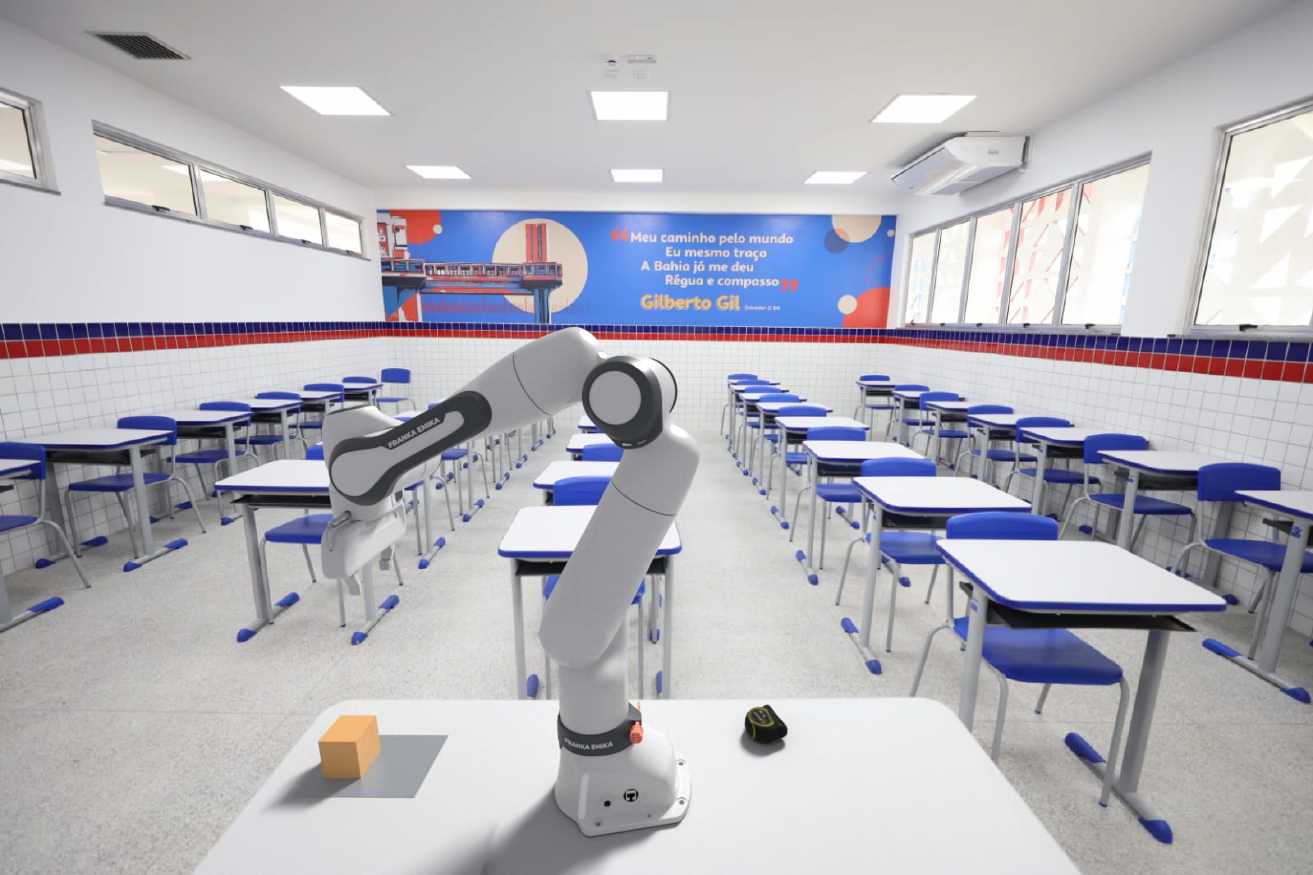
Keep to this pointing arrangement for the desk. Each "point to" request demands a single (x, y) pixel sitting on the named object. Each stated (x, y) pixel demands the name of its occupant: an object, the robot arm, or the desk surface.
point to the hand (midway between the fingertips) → (372, 580)
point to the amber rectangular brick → (349, 746)
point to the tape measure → (764, 725)
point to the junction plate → (383, 770)
